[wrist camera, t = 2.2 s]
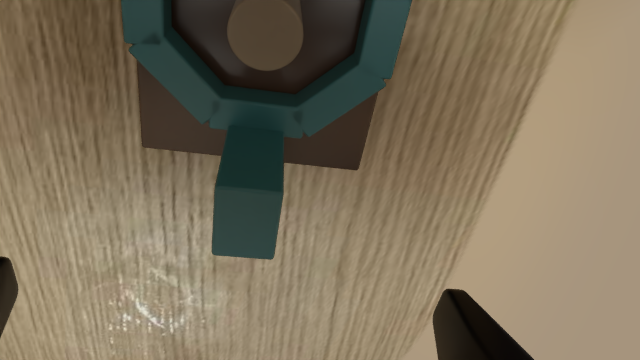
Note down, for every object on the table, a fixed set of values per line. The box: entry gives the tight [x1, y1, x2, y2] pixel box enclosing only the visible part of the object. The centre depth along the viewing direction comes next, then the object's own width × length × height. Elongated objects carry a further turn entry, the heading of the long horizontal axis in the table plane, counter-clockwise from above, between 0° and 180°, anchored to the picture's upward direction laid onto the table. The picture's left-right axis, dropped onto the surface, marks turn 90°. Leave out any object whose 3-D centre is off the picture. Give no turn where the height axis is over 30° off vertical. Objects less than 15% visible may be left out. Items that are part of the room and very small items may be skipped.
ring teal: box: [121, 0, 412, 260], centre depth 11 cm, size 9×7×4 cm
